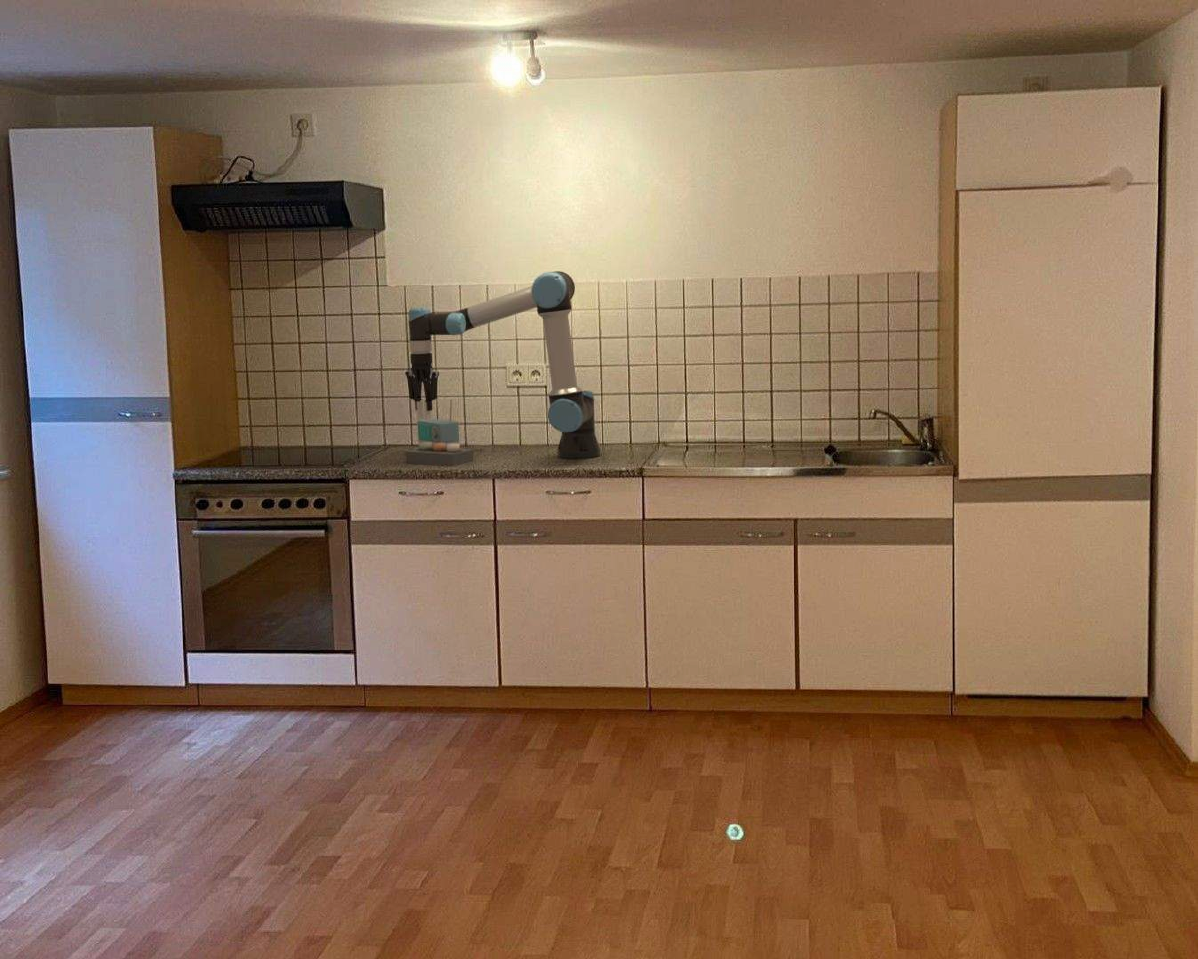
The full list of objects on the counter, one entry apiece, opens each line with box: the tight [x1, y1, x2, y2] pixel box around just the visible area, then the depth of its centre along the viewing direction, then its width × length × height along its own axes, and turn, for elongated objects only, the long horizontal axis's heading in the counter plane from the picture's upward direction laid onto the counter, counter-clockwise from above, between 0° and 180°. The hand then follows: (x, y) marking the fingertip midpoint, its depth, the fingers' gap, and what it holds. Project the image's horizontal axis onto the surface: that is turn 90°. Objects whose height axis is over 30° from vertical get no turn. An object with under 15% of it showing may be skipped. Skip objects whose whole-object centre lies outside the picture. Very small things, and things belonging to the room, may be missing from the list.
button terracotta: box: [433, 443, 446, 451], centre depth 510 cm, size 4×4×2 cm
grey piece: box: [405, 447, 475, 467], centre depth 511 cm, size 20×12×4 cm, turn 59°
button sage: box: [418, 442, 432, 451], centre depth 514 cm, size 4×4×2 cm
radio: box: [416, 399, 460, 448], centre depth 530 cm, size 16×9×20 cm, turn 37°
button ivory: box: [447, 442, 461, 452], centre depth 507 cm, size 4×4×2 cm
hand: (424, 419), depth 512 cm, fingers open, 3 cm apart
